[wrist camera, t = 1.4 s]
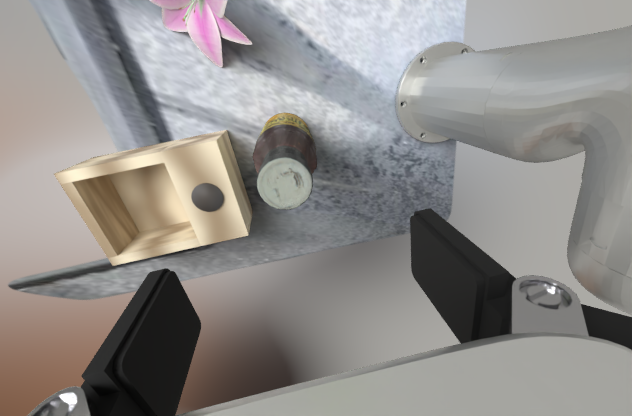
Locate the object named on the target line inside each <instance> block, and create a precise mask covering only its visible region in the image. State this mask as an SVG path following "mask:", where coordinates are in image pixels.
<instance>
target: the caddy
mask: <svg viewBox="0 0 632 416" xmlns="http://www.w3.org/2000/svg"><path fill="white" fill-rule="evenodd" d="M54 175H55V177H56V178H57V180H58V181H59V183H60V184H61V186H62V188H63V189H64V191H65V192H66V194H67V195H68V197H69V198H70V200H71V201H72V203H73V205H74V206H75V208H76V209H77V211H78V212H79V214H80V215H81V217H82V218H83V220H84V221H85V223H86V225H87V226H88V228H89V229H90V231H91V232H92V234H93V235H94V237H95V239H96V240H97V242H98V243H99V245H100V246H101V248H102V249H103V251H104V253H105V254H106V256H107V257H108V259H109V260H110V262H111V263H112V265H113V266H114V265H118V264H123V263H127V262H132V261H136V260H141V259H145V258H150V257H154V256H159V255H163V254H168V253H172V252H176V251H181V250H185V249H190V248H194V247H199V246H203V245H208V244H212V243H217V242H221V241H226V240H230V239H235V238H239V237H243V236H248V235H249V230H250V225H251V219H252V213H253V211H252V208H251V205H250V202H249V198H248V195H247V192H246V189H245V186H244V183H243V180H242V177H241V173H240V170H239V167H238V164H237V161H236V158H235V155H234V151H233V148H232V145H231V142H230V139H229V136H228V133H227V130H224V131H219V132H214V133H209V134H204V135H199V136H195V137H190V138H185V139H180V140H175V141H170V142H165V143H161V144H156V145H151V146H146V147H141V148H136V149H131V150H127V151H122V152H117V153H112V154H107V155H103V156H98V157H93V158H91V159H89V160H86V161H84V162H81V163H79V164H76V165H74V166H72V167H69V168H67V169H65V170H62V171H60V172H57V173H55V174H54Z"/></svg>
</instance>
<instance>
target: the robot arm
mask: <svg viewBox="0 0 632 416" xmlns="http://www.w3.org/2000/svg"><path fill="white" fill-rule="evenodd" d="M461 52H462V54H461ZM420 59H421V60H422V61H421V63H420ZM401 102H402V105H401ZM395 108H396V113H397V117H398V120H399V122H400V124H401V126H402V127H403V129H404V130H405V131H406V132H407V133H408V134H409V135H410V136H412V137H414V138H415V139H417V140H420V141H423V142H428V143H438V142H443V141H446V140H449V139H454V140H457V141H460V142H463V143H466V144H469V145H472V146H475V147H478V148H482V149H484V150H487V151H490V152H493V153H497V154H499V155H503V156H506V157H509V158H512V159H516V160H520V161H524V162H534V163H538V162H549V161H555V160H559V159H562V158H566V157H569V156H572V155H575V154H577V153H580V152H582V151H586V152H585V155H586V158H585V163H584V169H583V174H582V183H581V188H580V192H579V196H578V200H577V205H576V209H575V213H574V217H573V221H572V226H571V231H570V236H569V241H568V248H567V253H568V254H567V257H568V263H569V266H570V269H571V271H572V273H573V275H574V276H575V278H576V279H577V280H578V282H579V283H580V284H581V285H582V286H583V287H584V288H585V289H586V290H587V291H589V292H590V293H592V294H593V295H594V296H596V297H597V298H599V299H600V300H602V301H603V302H605V303H607V304H609V305H611V306H613V307H615V308H617V309H619V310H621V311H623V312H626V313H628V314H630V315H632V25H631V26H627V27H623V28H619V29H614V30H609V31H604V32H598V33H594V34H588V35H582V36H577V37H570V38H564V39H558V40H550V41H545V42H538V43H531V44H525V45H518V46H511V47H504V48H498V49H490V50H484V51H477V52H476V51H474V50H473V49H472V48H471V47H469V46H467V45H465V44H463V43H458V42H444V43H440V44H436V45H433V46H431V47H429V48H427V49H425V50H424V51H422V52H421V53H419V54H418V55H417V56H416V57H415V58H414V59H413V60H412V61H411V62H410V64H409V65H408V66H407V68H406V69H405V71H404V72H403V74H402V76H401V78H400V81H399V84H398V87H397V91H396V97H395ZM421 133H422V135H421ZM420 135H421V136H420ZM410 226H411V262H412V263H411V267H412V273H413V276H414V278H415V280H416V281H417V282H418V284H419V285H420V287H421V288H422V290H423V291H424V292H425V294H426V295H427V297H428V298H429V299H430V301H431V302H432V303H433V305H434V306H435V308H436V309H437V311H438V312H439V313H440V315H441V316H442V318H443V319H444V320H445V322H446V323H447V325H448V326H449V327H450V329H451V330H452V332H453V333H454V334H455V336H456V337H457V338H458V340H459V341H460V343H461V344H458V345H453V346H449V347H444V348H440V349H436V350H431V351H427V352H424V353H419V354H415V355H412V356H407V357H403V358H399V359H395V360H391V361H387V362H383V363H379V364H375V365H371V366H367V367H363V368H359V369H355V370H351V371H347V372H343V373H340V374H335V375H331V376H327V377H323V378H320V379H316V380H312V381H307V382H304V383H300V384H296V385H292V386H288V387H284V388H280V389H276V390H272V391H269V392H264V393H261V394H257V395H253V396H249V397H245V398H241V399H237V400H233V401H230V402H226V403H222V404H218V405H214V406H210V407H207V408H203V409H199V410H195V411H191V412H188V413H184V414H180V415H176V416H632V317H628V316H624V315H621V314H617V313H613V312H609V311H606V310H602V309H598V308H594V307H590V306H586V305H583V304H581V303H580V300H579V298H578V296H577V294H575V293H574V292H573V291H572V290H571V289H570V288H569V287H567V286H566V285H564V284H562V283H560V282H558V281H556V280H553V279H550V278H546V277H543V276H534V275H531V276H523V277H520V278H517V279H516V278H515V277H514V276H512V275H511V274H510V273H509V272H508V271H507V270H506V269H504V268H503V267H502V266H501V265H500V264H498V263H497V262H496V261H495V260H493V259H492V258H491V257H490V256H488V255H487V254H486V253H485V252H483V251H482V250H481V249H480V248H479V247H477V246H476V245H475V244H474V243H472V242H471V241H470V240H469V239H468V238H466V237H465V236H464V235H463V234H461V233H460V232H459V231H457V230H456V229H455V228H454V227H453V226H452V225H450V224H449V223H448V222H447V221H445V220H444V219H443V218H442V217H441V216H439V215H438V214H437V213H436V212H434V211H433V210H432V209H425V210H421V211H416V212H415V213H414V216H411V218H410ZM200 330H201V322H200V320H199V317H198V315H197V313H196V312H195V310H194V308H193V306H192V304H191V302H190V300H189V298H188V296H187V294H186V293H185V290H184V289H183V287H182V285H181V283H180V281H179V279H178V277H177V275H176V273H175V272H174V271H170V270H169V269H162V270H157V271H153V272H150V273H149V274H148V275H147V277H146V278H145V280H144V281H143V283H142V284H141V286H140V288H139V289H138V291H137V292H136V294H135V295H134V297H133V298H132V300H131V301H130V303H129V304H128V306H127V307H126V309H125V310H124V312H123V313H122V315H121V317H120V318H119V320H118V321H117V323H116V324H115V326H114V327H113V329H112V330H111V332H110V333H109V335H108V336H107V338H106V339H105V341H104V343H103V344H102V345H101V347H100V349H99V350H98V352H97V353H96V355H95V356H94V358H93V359H92V361H91V363H90V364H89V365H88V367H87V369H86V370H85V372H84V373H83V374H82V377H83V379H84V380H85V381H84V383H83V384H82V386H81V388H80V387H69V388H66V389H63V390H61V391H59V392H57V393H55V394H54V395H52V396H50V397H49V398H47V399H46V400H45V401H43V402H42V403H41V404H40V405H38V406H37V407H36V408H35V409H34V410H33V411H32V412H31V413H30V414H29V415H28V416H175V414H176V411H177V408H178V404H179V401H180V397H181V394H182V390H183V387H184V384H185V380H186V377H187V374H188V371H189V367H190V364H191V360H192V357H193V354H194V350H195V347H196V344H197V340H198V337H199V334H200Z"/></svg>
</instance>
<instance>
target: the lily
mask: <svg viewBox="0 0 632 416" xmlns="http://www.w3.org/2000/svg"><path fill="white" fill-rule="evenodd" d="M150 1H151V2H152V3H154V4H156V5H158V6H160V7H162V20H163V24H164V26H165V27H166V28H167V29H169V30H172V31H177V32H188V33H189V35H190V37H191V39H192V40H193V42H194V43H195V44H196V46H197V47H198V48H199V49H200V50H201V51H202V52H203V53H204V55H205V56H206V57H207V58H209V59H210V60H211V61H212V62H213V63H214V64H215V65H217V66H219V67H221V68H222V67H223V59H222V46H221V38H220V36H221V37H223V38H225V39H227V40H230V41H233V42H236V43H241V44H246V45H251V44H252V42H251V41H250V40H249V39H248V38H247V37H246V36H245V35H244V34H243V33H242V32H241V31H240V30H239V29H238V28H237V27H236V26H235V25H234V24H233V23H232V22H231V21H230V20H228V19H227V18H226V17H225V16H224V12H225V8H226V4H227V0H150Z"/></svg>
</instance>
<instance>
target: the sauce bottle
mask: <svg viewBox="0 0 632 416" xmlns="http://www.w3.org/2000/svg"><path fill="white" fill-rule="evenodd" d="M253 160H254V164H255V168H256V171H257V173H258V176H257V189H258V192H259V194H260V196H261V197H262V199H263V200H264V202H266V203H267V204H268V205H270V206H272V207H274V208H277V209H294V208H296V207H298V206H300V205H301V204H303V203H304V202H305V201H306V200H307V199H308V198H309V196H310V194H311V192H312V187H313V178H312V173H313V172H314V170H315V169H316V167H317V159H316V147H315V143H314V140H313V138H312V136H311V134H310V131H309V129H308V127H307V125H306V123H305V122H304V121H303V120H302V119H301V118H299V117H298V116H296V115H294V114H290V113H280V114H277V115H275V116H273V117H271V118H270V119H269V120H268V121H267V122H266V124H265V126H264V128H263V130H262V132H261V134H260V136H259V138H258V140H257V142H256V146H255V150H254V153H253Z"/></svg>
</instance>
